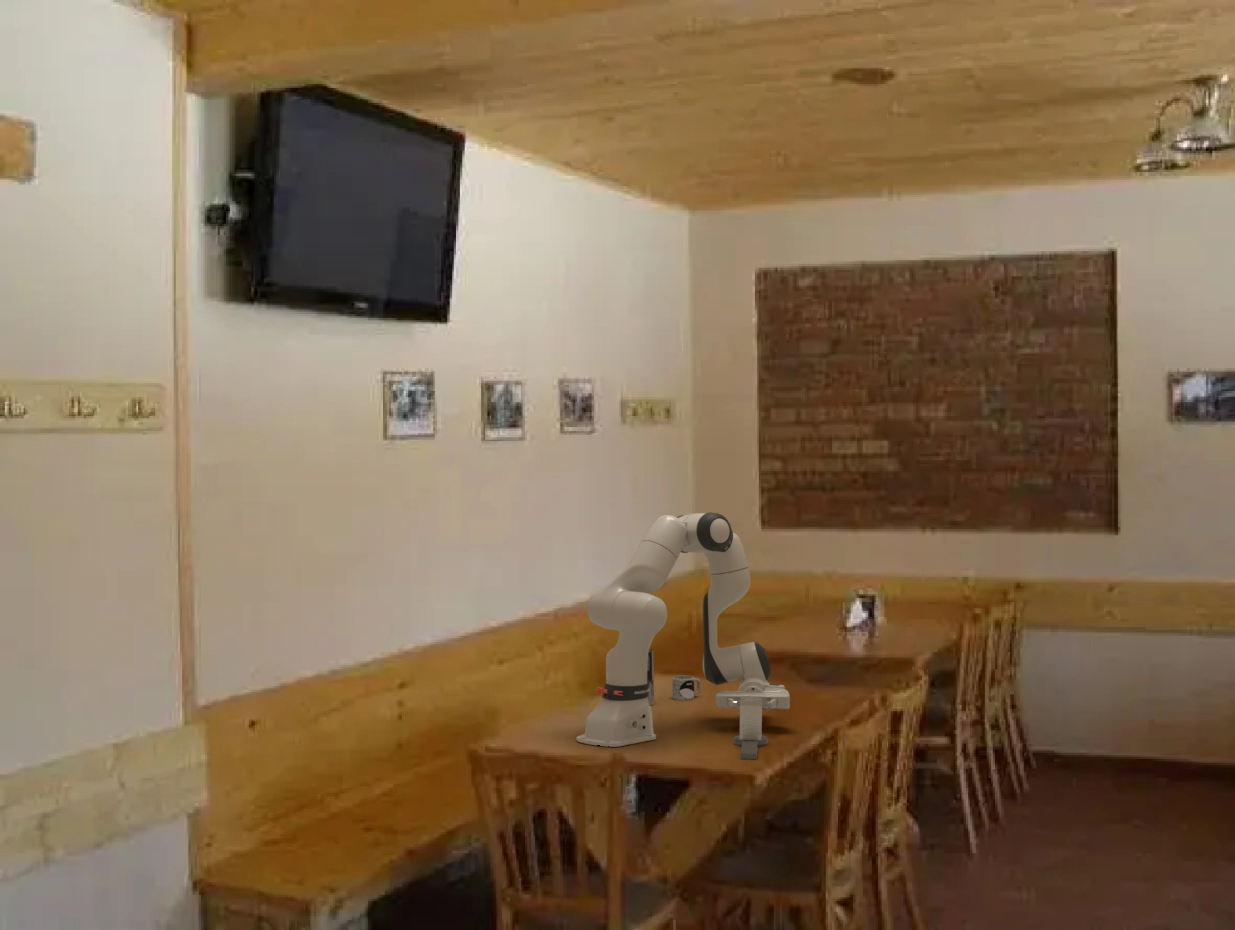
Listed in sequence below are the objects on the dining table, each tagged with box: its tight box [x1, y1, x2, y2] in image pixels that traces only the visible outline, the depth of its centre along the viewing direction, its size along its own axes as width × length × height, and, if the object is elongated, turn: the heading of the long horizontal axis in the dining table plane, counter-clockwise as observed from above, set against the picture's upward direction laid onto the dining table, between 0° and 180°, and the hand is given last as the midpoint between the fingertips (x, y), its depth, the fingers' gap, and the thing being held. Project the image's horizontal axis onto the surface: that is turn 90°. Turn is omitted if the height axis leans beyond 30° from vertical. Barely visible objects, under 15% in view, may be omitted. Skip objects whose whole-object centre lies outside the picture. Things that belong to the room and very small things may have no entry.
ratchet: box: [732, 734, 769, 760], centre depth 392 cm, size 24×9×6 cm, turn 174°
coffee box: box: [647, 648, 655, 706], centre depth 456 cm, size 9×6×16 cm
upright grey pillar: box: [739, 697, 763, 740], centre depth 399 cm, size 6×6×10 cm
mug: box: [671, 674, 702, 702], centre depth 465 cm, size 10×7×7 cm
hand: (751, 705), depth 408 cm, fingers open, 8 cm apart
